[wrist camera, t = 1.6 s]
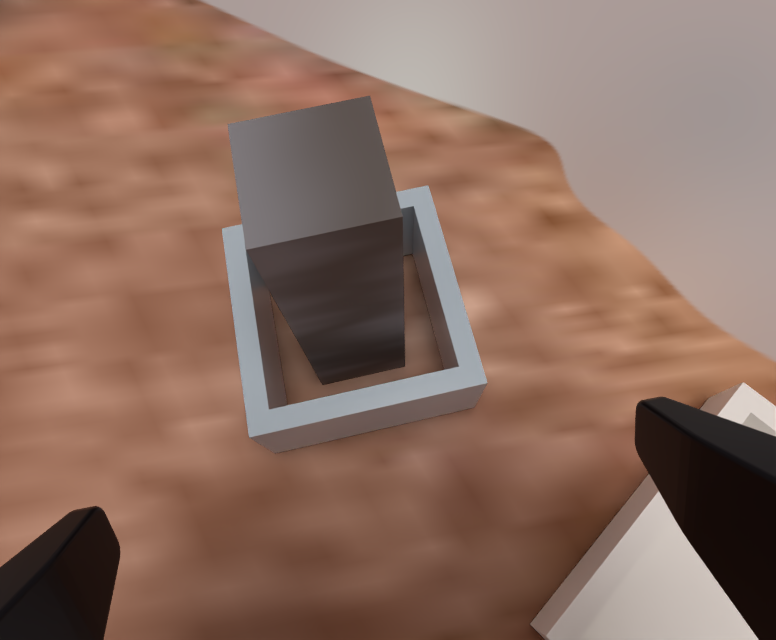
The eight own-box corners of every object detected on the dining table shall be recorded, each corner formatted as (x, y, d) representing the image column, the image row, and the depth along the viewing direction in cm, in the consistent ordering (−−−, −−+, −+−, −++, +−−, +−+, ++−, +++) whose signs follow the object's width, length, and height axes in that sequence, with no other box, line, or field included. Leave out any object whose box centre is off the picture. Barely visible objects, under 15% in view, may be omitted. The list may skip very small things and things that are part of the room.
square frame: (275, 453, 23) (249, 437, 19) (248, 273, 26) (221, 228, 22) (474, 407, 23) (487, 382, 19) (425, 235, 26) (428, 185, 22)
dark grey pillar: (322, 384, 24) (245, 249, 12) (308, 308, 25) (227, 124, 14) (404, 366, 24) (402, 216, 13) (386, 291, 25) (370, 95, 14)
